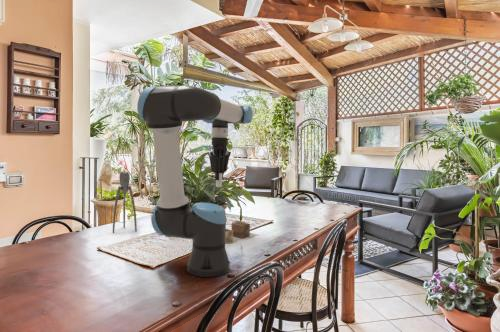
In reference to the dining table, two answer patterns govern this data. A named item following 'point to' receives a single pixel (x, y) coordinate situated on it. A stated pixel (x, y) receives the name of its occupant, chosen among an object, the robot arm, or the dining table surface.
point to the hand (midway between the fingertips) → (218, 186)
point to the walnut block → (241, 230)
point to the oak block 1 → (228, 236)
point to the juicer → (124, 188)
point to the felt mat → (243, 238)
